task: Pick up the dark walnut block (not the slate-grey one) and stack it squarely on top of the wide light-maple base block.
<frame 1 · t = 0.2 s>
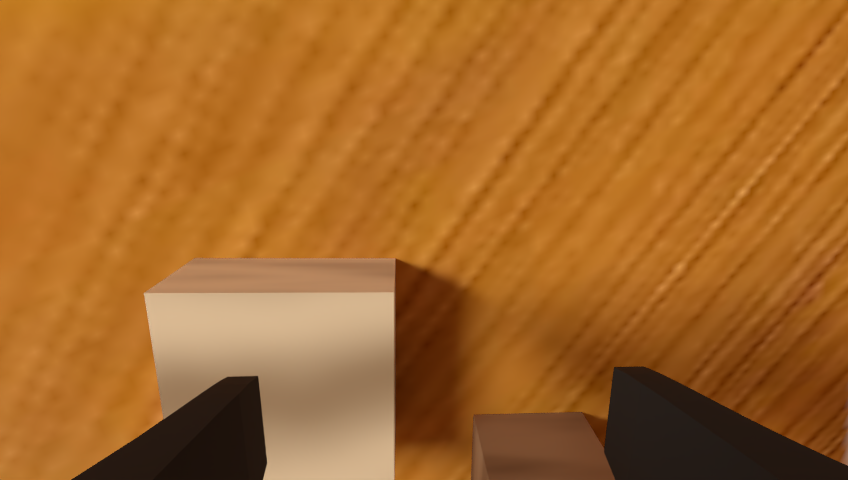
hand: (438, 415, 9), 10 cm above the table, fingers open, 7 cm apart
base block: (302, 344, 20), on the table
walnut block: (524, 458, 22), on the table
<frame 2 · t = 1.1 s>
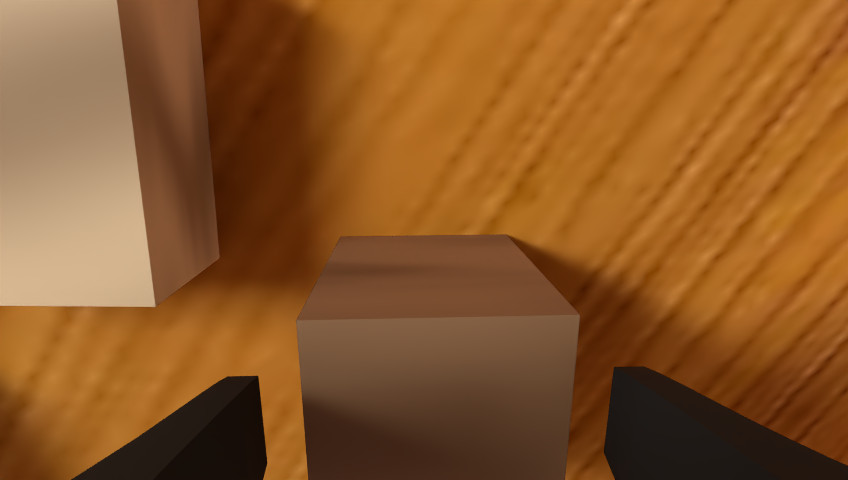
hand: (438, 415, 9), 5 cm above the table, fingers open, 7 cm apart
base block: (64, 115, 13), on the table
walnut block: (424, 311, 14), on the table
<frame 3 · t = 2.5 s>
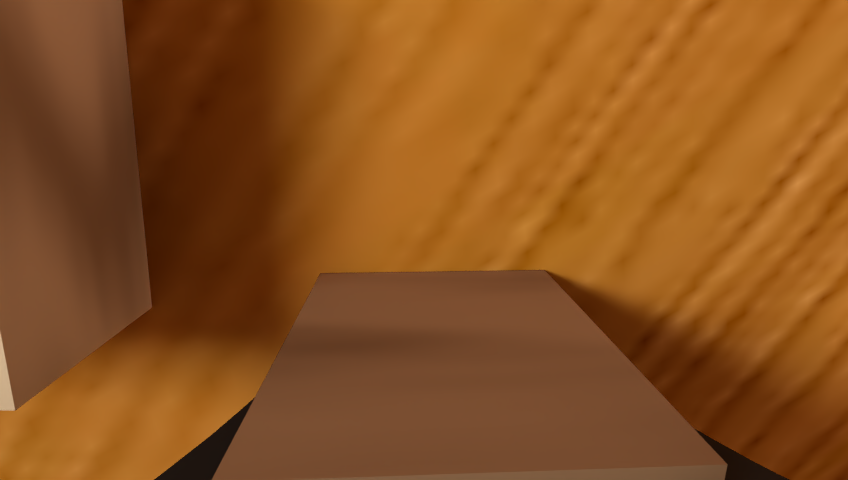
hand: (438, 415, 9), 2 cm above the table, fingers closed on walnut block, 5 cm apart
walnut block: (433, 372, 11), on the table, touching gripper
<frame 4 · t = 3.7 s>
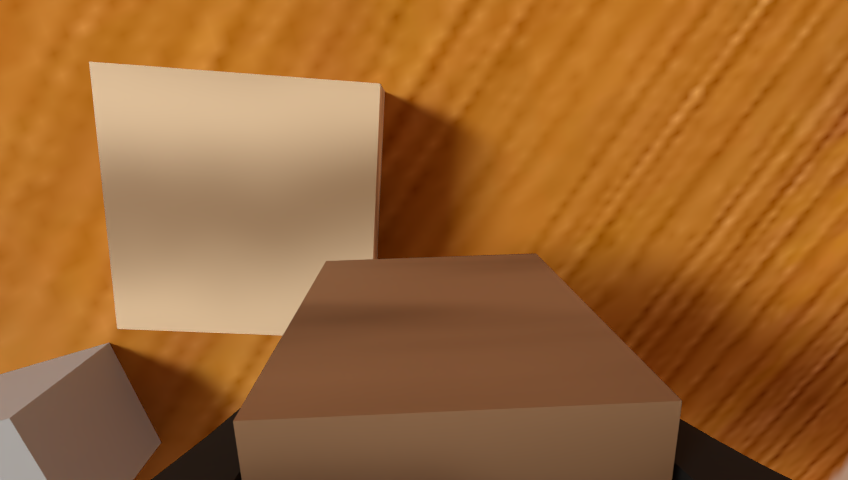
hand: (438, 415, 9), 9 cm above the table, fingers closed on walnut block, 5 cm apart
base block: (276, 192, 18), on the table
slate block: (81, 409, 19), on the table
walnut block: (433, 352, 12), point 7 cm above the table, touching gripper
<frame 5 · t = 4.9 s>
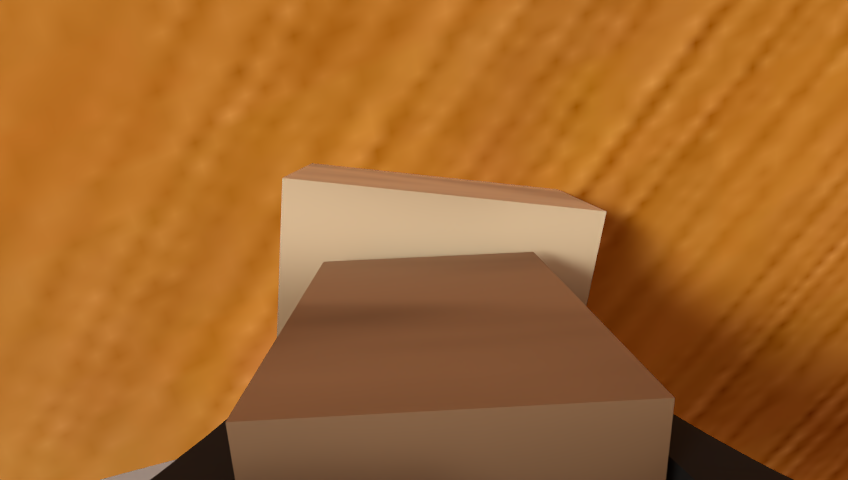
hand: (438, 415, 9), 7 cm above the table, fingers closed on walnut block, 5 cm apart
base block: (423, 289, 16), on the table
walnut block: (432, 352, 12), point 4 cm above the table, touching gripper
when the fingers open (7 cm above the table, at t = 5.4 s): walnut block stays where it is, point 4 cm above the table.
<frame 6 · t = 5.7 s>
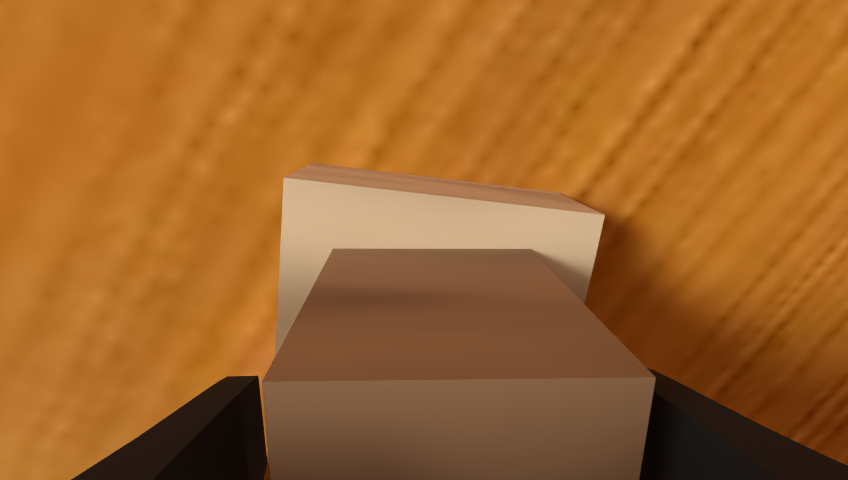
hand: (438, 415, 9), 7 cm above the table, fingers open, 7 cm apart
base block: (421, 289, 16), on the table
walnut block: (430, 338, 12), point 4 cm above the table
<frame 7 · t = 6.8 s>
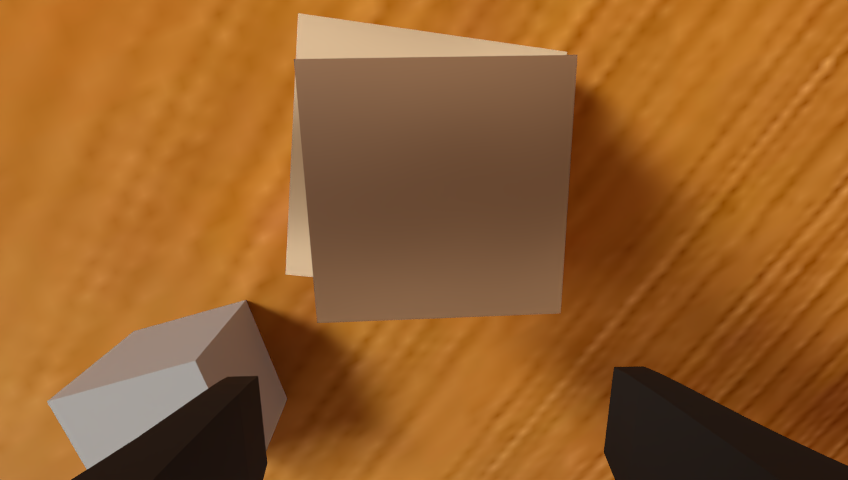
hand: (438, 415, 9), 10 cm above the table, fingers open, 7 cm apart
base block: (415, 157, 18), on the table, touching walnut block
slate block: (213, 365, 20), on the table
walnut block: (423, 164, 15), point 4 cm above the table, touching base block
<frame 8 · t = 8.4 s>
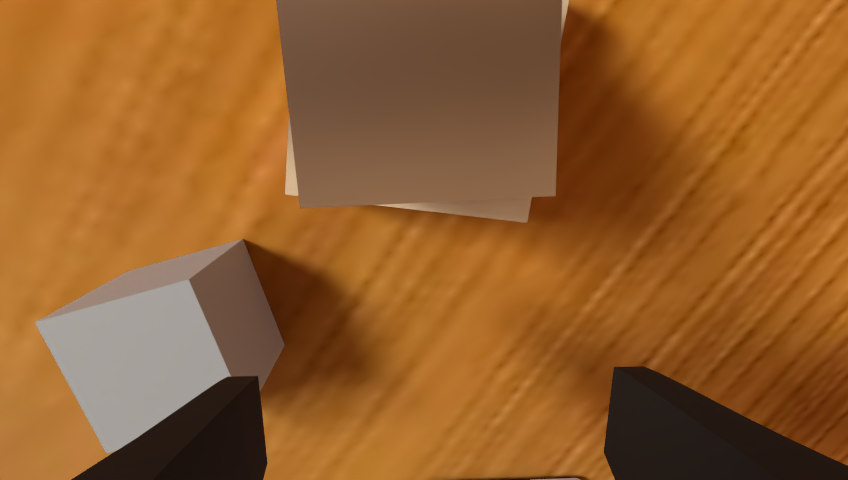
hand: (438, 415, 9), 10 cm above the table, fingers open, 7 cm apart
base block: (419, 89, 18), on the table, touching walnut block
slate block: (209, 308, 20), on the table
walnut block: (415, 87, 14), point 4 cm above the table, touching base block
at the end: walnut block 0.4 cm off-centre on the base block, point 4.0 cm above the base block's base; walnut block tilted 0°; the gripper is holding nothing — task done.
